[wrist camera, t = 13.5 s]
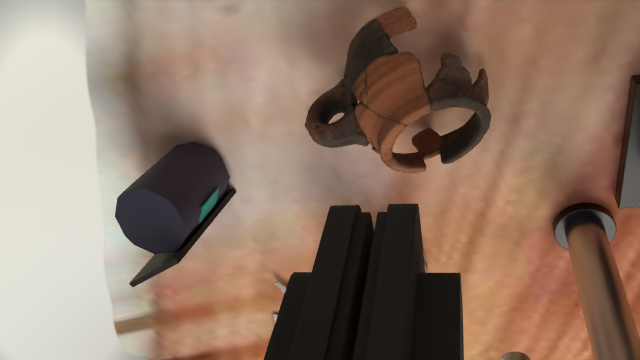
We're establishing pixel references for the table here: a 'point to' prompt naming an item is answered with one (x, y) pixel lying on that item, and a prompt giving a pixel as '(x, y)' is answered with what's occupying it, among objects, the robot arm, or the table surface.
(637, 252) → the table surface
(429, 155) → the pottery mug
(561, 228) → the spout
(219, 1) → the table surface
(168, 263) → the speaker
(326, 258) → the robot arm
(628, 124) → the black lever stand
